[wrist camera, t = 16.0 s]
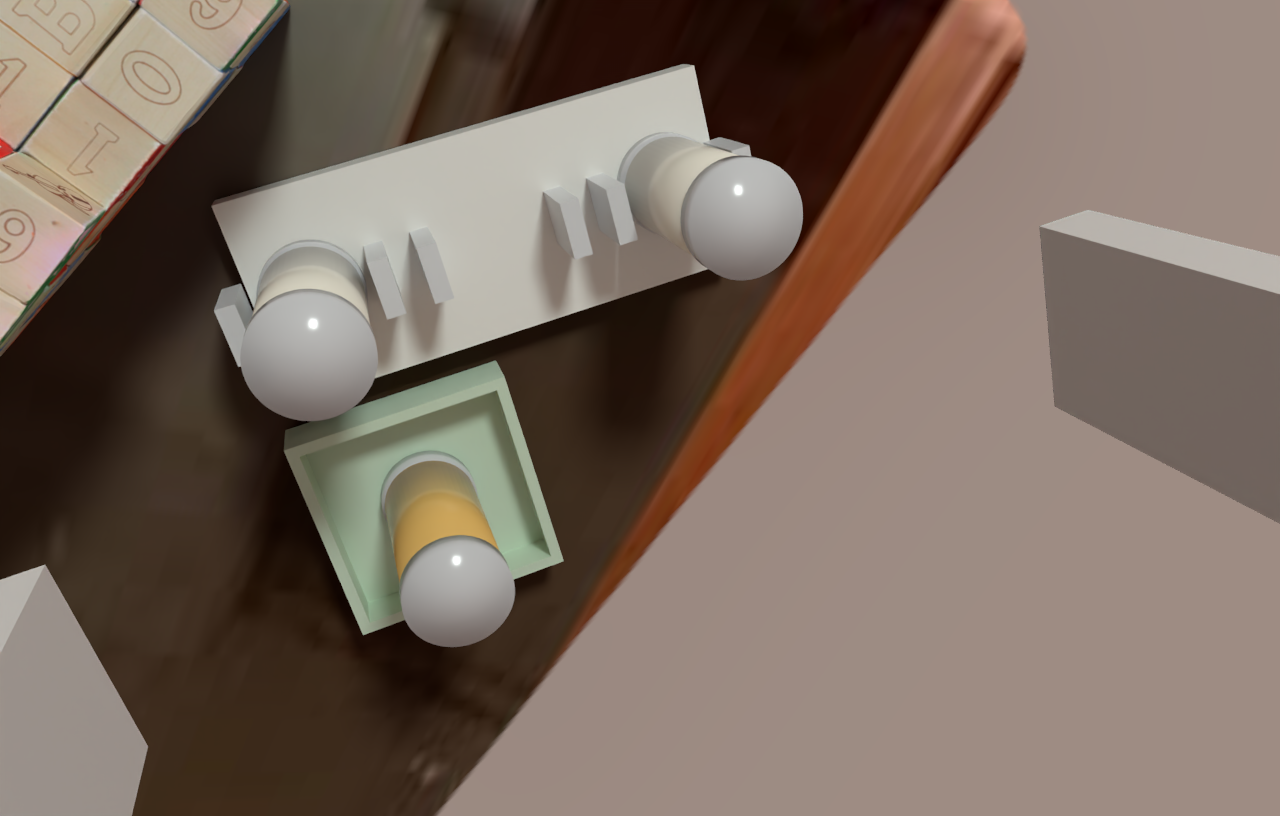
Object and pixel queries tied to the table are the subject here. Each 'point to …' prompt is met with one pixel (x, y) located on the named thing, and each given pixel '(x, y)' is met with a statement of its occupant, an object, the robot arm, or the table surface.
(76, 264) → the stack of blocks
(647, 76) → the fuse panel
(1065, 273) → the robot arm
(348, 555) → the tray
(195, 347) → the table surface
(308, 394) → the ball
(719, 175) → the fuse cream far
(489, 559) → the fuse amber
